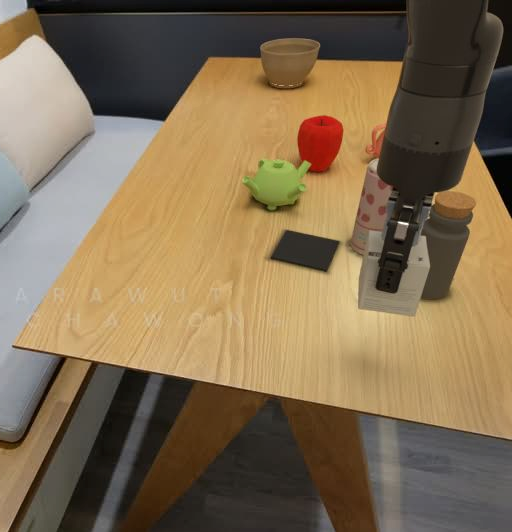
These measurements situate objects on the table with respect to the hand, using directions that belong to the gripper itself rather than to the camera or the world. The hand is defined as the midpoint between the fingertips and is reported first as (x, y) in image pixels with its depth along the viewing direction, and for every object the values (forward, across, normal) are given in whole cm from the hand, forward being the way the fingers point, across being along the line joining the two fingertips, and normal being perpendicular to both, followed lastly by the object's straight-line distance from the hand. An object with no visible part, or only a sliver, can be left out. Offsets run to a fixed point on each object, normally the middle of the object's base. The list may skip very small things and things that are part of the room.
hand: (391, 272), depth 59 cm
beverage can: (+14, +26, +4) cm, 30 cm away
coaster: (+14, +21, +14) cm, 29 cm away
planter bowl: (+13, +103, +41) cm, 112 cm away
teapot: (+14, +35, +22) cm, 44 cm away
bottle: (+14, +19, -5) cm, 24 cm away
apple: (+14, +52, +20) cm, 57 cm away
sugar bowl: (+14, +60, +5) cm, 62 cm away
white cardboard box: (+4, 0, 0) cm, 4 cm away
